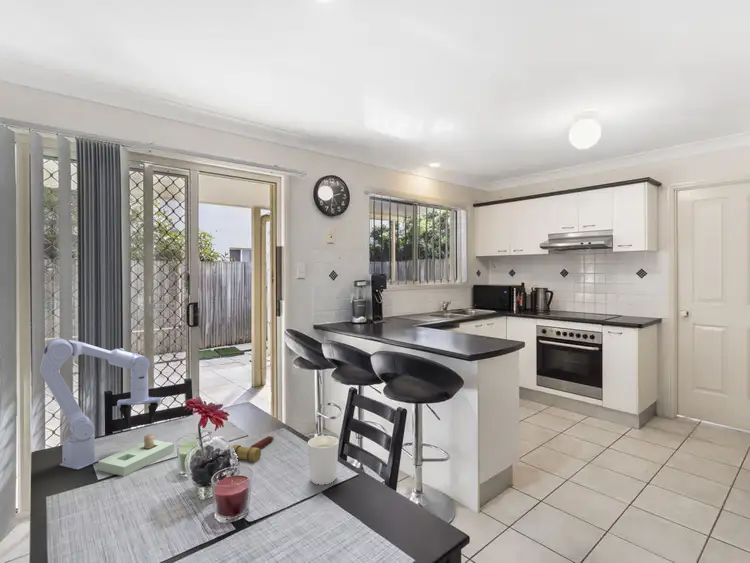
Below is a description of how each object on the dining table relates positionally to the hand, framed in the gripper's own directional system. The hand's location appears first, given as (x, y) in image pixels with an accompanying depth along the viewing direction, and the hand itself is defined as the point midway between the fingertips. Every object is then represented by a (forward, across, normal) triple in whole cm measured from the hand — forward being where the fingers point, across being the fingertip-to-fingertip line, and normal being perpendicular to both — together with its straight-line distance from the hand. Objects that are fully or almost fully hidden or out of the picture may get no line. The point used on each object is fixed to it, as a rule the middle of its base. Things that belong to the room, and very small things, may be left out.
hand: (139, 423), depth 154 cm
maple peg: (+9, +5, -7) cm, 13 cm away
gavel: (+10, +43, -10) cm, 46 cm away
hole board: (+9, +2, -11) cm, 14 cm away
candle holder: (+10, +65, -38) cm, 76 cm away
